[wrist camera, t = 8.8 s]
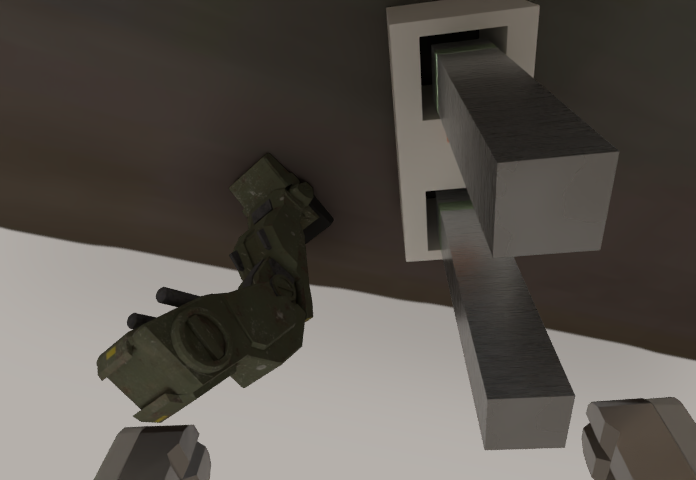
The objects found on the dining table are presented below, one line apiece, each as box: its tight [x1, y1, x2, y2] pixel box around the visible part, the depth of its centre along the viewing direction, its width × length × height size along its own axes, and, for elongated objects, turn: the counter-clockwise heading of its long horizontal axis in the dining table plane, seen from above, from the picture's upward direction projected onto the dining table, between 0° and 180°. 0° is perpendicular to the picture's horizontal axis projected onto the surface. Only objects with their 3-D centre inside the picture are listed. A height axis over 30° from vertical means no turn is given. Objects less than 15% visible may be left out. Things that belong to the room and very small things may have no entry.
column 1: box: [431, 38, 619, 258], centre depth 26 cm, size 4×4×22 cm
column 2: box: [436, 188, 575, 450], centre depth 32 cm, size 4×4×22 cm
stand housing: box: [386, 0, 540, 262], centre depth 41 cm, size 20×10×11 cm, turn 7°
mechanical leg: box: [97, 153, 333, 423], centre depth 39 cm, size 14×7×30 cm, turn 42°
